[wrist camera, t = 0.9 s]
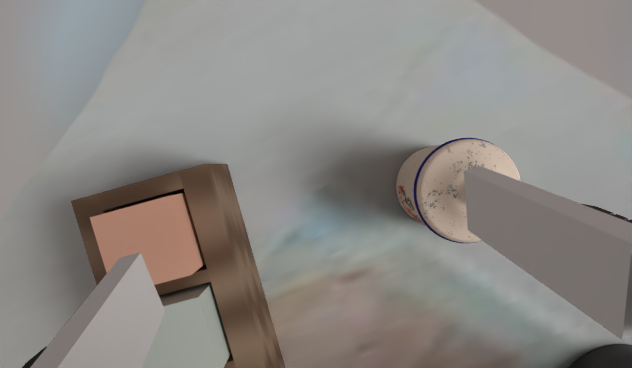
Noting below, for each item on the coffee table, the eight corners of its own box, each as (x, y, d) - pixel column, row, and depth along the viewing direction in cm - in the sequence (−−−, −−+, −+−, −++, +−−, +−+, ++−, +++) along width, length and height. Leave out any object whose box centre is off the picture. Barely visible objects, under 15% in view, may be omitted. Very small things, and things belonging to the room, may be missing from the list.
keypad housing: (296, 406, 39) (290, 458, 32) (189, 433, 39) (160, 490, 32) (227, 164, 38) (205, 163, 31) (117, 194, 38) (71, 201, 31)
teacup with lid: (376, 192, 38) (401, 204, 26) (427, 127, 37) (476, 110, 25) (460, 258, 38) (522, 298, 26) (512, 194, 37) (598, 206, 26)
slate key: (235, 343, 34) (220, 374, 29) (169, 360, 34) (143, 393, 29) (216, 277, 34) (198, 297, 29) (149, 295, 34) (120, 317, 29)
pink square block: (210, 258, 34) (191, 274, 29) (144, 276, 34) (113, 295, 29) (191, 191, 33) (168, 195, 28) (124, 209, 34) (89, 217, 29)
